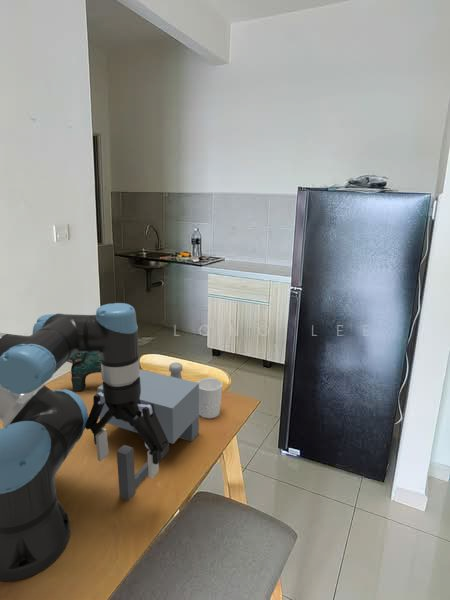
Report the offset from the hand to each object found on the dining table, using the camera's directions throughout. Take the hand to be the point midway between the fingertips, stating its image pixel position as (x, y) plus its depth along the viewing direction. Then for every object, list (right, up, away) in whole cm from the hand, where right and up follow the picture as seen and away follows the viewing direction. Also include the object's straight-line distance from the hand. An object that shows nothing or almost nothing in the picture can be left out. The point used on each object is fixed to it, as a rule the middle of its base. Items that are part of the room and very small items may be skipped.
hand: (127, 465), depth 83 cm
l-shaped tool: (+3, -6, +9) cm, 11 cm away
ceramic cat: (-22, +5, +48) cm, 53 cm away
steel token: (+3, -3, +20) cm, 20 cm away
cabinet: (+1, -2, +23) cm, 23 cm away
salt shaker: (+5, +3, +42) cm, 42 cm away
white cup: (+16, +1, +35) cm, 39 cm away
